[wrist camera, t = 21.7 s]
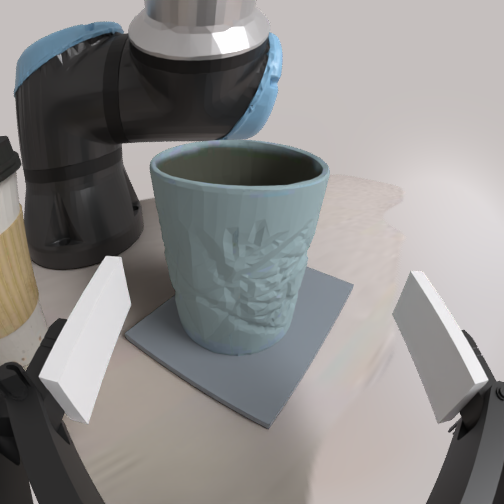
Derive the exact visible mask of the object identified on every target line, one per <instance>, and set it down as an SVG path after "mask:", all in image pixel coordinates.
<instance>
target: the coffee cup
mask: <svg viewBox="0 0 504 504" xmlns="http://www.w3.org/2000/svg"><path fill="white" fill-rule="evenodd" d="M20 166H21V161H20V158H19V155H18V153H17V152H15V151H13V149H12V146H11V144H10V141H9V139H8V137H7V136H0V366H1V365H3V364H4V363H7V362H17V363H18V364H20V365H21V366H22V367H23V366H26V365H28V364H29V363H30V362H31V360H32V358H33V356H34V354H35V352H36V351H37V349H38V347H40V343H41V341H42V339H44V336H45V334H46V332H47V330H48V327H47V324H46V321H45V318H44V315H43V312H42V309H41V305H40V302H39V298H38V295H39V293H38V289H37V285H36V281H35V277H34V272H33V268H32V264H31V259H30V254H29V249H28V244H27V238H26V232H25V226H24V219H23V212H22V206H21V204H20V203H19V197H18V189H17V175H16V171H17V170H18V169H19V168H20Z"/></svg>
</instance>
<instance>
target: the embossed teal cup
mask: <svg viewBox="0 0 504 504" xmlns="http://www.w3.org/2000/svg"><path fill="white" fill-rule="evenodd" d="M150 173H151V179H152V185H153V190H154V196H155V202H156V208H157V211H158V215H159V222H160V225H161V231H162V239H163V242H164V246H165V257H166V262H167V265H168V269H169V276H170V280H171V282H172V286H173V288H174V289H175V290H176V291H175V301H176V305H177V310H178V314H179V318H180V321H181V324H182V326H183V328H184V330H185V332H186V333H187V334H188V336H189V337H190V338H191V339H192V340H193V341H194V342H195V343H197V344H199V345H200V346H202V347H203V348H205V349H207V350H210V351H212V352H214V353H219V354H225V355H230V356H231V355H236V356H244V355H246V354H250V355H252V354H253V353H259V352H260V351H263V350H265V349H267V348H269V347H271V346H273V345H274V344H275V343H277V342H279V341H280V339H282V338H283V336H284V335H285V334H286V332H287V331H288V329H289V327H290V324H291V321H292V317H293V313H294V310H295V305H296V302H297V298H298V290H299V288H300V287H301V282H302V279H303V276H304V273H305V269H306V266H307V261H308V257H307V250H308V248H309V247H310V243H311V241H312V239H313V236H314V234H315V230H316V225H317V222H318V218H319V213H320V209H321V206H322V202H323V198H324V194H325V191H326V187H327V183H328V179H329V174H330V170H329V167H328V165H327V164H326V163H325V162H324V161H323V160H322V159H321V158H319V157H317V156H315V155H313V154H311V153H309V152H307V151H304V150H301V149H298V148H294V147H290V146H286V145H281V144H275V143H269V142H262V141H252V140H213V141H202V142H195V143H189V144H184V145H180V146H176V147H173V148H170V149H168V150H165V151H163V152H161V153H159V154H157V155H156V156H155V157H154V158H153V159H152V160H151V163H150Z"/></svg>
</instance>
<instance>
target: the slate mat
mask: <svg viewBox="0 0 504 504" xmlns="http://www.w3.org/2000/svg"><path fill="white" fill-rule="evenodd" d="M352 289H353V284H351V283H348V282H346V281H343V280H340V279H338V278H335V277H332V276H330V275H327V274H325V273H322V272H319V271H317V270H314V269H311V268H309V267H306V269H305V273H304V276H303V279H302V282H301V287H300V288H299V290H298V298H297V302H296V305H295V310H294V313H293V317H292V321H291V324H290V327H289V329H288V331H287V332H286V334H285V335H284V336H283V338H282V339H280V341H279V342H277V343H275V344H274V345H273V346H271V347H269V348H267V349H265V350H263V351H260V352H259V353H253V354H252V355H250V354H246V355H244V356H236V355H231V356H230V355H225V354H219V353H214V352H212V351H210V350H207V349H205V348H203V347H202V346H200V345H199V344H197V343H195V342H194V341H193V340H192V339H191V338H190V337H189V336H188V334H187V333H186V332H185V330H184V328H183V326H182V324H181V321H180V318H179V314H178V310H177V305H176V301H175V295H174V296H173V297H171V298H170V299H169V300H167V301H166V302H165V303H164V304H162V305H161V306H160V307H158V308H157V309H156V310H154V311H153V312H152V313H150V314H149V315H148V316H147V317H145V318H144V319H143V320H141V321H140V322H139V323H137V324H136V325H135V326H133V327H132V328H131V329H130V330H128V331H127V332H126V333H125V336H126V339H127V340H129V341H130V342H131V343H133V344H134V345H135V346H137V347H138V348H139V349H141V350H142V351H143V352H145V353H146V354H147V355H149V356H150V357H152V358H153V359H154V360H156V361H157V362H159V363H160V364H162V365H163V366H164V367H166V368H167V369H169V370H170V371H172V372H173V373H175V374H176V375H178V376H179V377H181V378H182V379H184V380H185V381H187V382H188V383H190V384H191V385H193V386H194V387H196V388H198V389H199V390H201V391H202V392H204V393H206V394H207V395H209V396H210V397H212V398H214V399H215V400H217V401H219V402H220V403H222V404H224V405H226V406H227V407H229V408H231V409H232V410H234V411H236V412H238V413H240V414H241V415H243V416H245V417H247V418H249V419H250V420H252V421H254V422H256V423H258V424H260V425H262V426H264V427H266V428H268V429H269V428H270V426H271V425H272V423H273V422H274V420H275V419H276V417H277V416H278V415H279V413H280V412H281V410H282V409H283V407H284V406H285V404H286V403H287V401H288V399H289V398H290V396H291V395H292V393H293V392H294V390H295V389H296V387H297V385H298V384H299V382H300V381H301V379H302V377H303V376H304V374H305V373H306V371H307V369H308V368H309V366H310V364H311V363H312V361H313V359H314V358H315V356H316V354H317V353H318V351H319V349H320V348H321V346H322V344H323V342H324V341H325V339H326V337H327V335H328V334H329V332H330V330H331V328H332V326H333V325H334V323H335V321H336V319H337V317H338V316H339V314H340V312H341V310H342V308H343V306H344V304H345V302H346V301H347V299H348V297H349V295H350V293H351V291H352Z"/></svg>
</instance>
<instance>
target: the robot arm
mask: <svg viewBox="0 0 504 504" xmlns="http://www.w3.org/2000/svg"><path fill="white" fill-rule="evenodd" d="M144 1H145V8H144V9H143V10H142V11H141V12H140V13H139V14H138V15H137V16H136V17H135V18H134V19H133V20H132V22H131V23H130V25H129V29H128V34H124V31H123V30H122V27H121V26H120V25H119V24H118V23H115V22H94V23H91V24H88V25H77V26H73V27H69V28H66V29H63V30H60V31H57V32H55V33H52V34H50V35H48V36H45V37H44V38H41V39H39V40H38V41H36V42H35V43H33V44H32V45H30V46H29V47H28V48H27V49H26V50H25V51H24V52H23V53H22V55H21V56H20V58H19V60H18V62H17V67H16V81H15V89H14V97H15V99H16V114H17V126H18V136H19V144H20V151H21V158H22V165H23V170H24V176H25V182H26V197H25V213H24V226H25V232H26V238H27V244H28V249H29V254H30V257H31V259H32V260H33V261H34V262H35V263H37V264H39V265H41V266H44V267H47V268H53V269H72V268H79V267H84V266H89V265H92V264H96V263H99V262H102V263H101V264H100V266H99V268H98V269H97V271H96V272H95V274H94V276H93V277H92V279H91V280H90V282H89V284H88V285H87V287H86V289H85V290H84V292H83V294H82V295H81V297H80V299H79V300H78V302H77V304H76V306H75V307H74V309H73V311H72V313H71V314H70V316H69V318H68V320H67V319H61V318H59V319H58V320H56V321H55V322H54V323H53V324H52V325H51V326H50V327H49V329H48V330H47V332H46V334H45V336H44V339H42V341H41V343H40V347H38V349H37V351H36V352H35V354H34V356H33V358H32V360H31V362H30V364H29V366H28V368H27V370H26V372H25V370H24V369H23V367H22V366H21V365H20V364H18V363H17V362H7V363H4V364H3V365H1V366H0V504H33V500H32V494H31V489H30V484H31V486H32V489H33V491H34V493H35V496H36V498H37V501H38V503H39V504H105V503H104V501H103V499H102V498H101V496H100V494H99V492H98V491H97V489H96V487H95V485H94V484H93V482H92V480H91V478H90V476H89V474H88V473H87V471H86V469H85V467H84V465H83V463H82V461H81V459H80V457H79V455H78V453H77V450H76V448H75V446H74V444H73V442H72V440H71V437H70V435H69V433H68V430H67V428H66V426H65V423H64V422H63V420H62V418H63V415H64V412H65V413H66V415H67V416H68V417H69V418H70V419H71V420H74V421H77V422H81V423H85V424H88V423H89V420H90V417H91V414H92V410H93V407H94V404H95V401H96V398H97V395H98V392H99V389H100V386H101V383H102V380H103V377H104V374H105V372H106V369H107V366H108V363H109V360H110V358H111V355H112V352H113V350H114V347H115V344H116V342H117V339H118V336H119V334H120V331H121V329H122V326H123V324H124V321H125V319H126V316H127V314H128V311H129V309H130V306H131V301H130V297H129V292H128V288H127V283H126V278H125V273H124V268H123V263H122V258H121V257H115V255H117V254H119V253H121V252H122V251H124V250H125V249H127V248H128V247H130V246H131V245H132V244H133V243H134V242H135V241H136V240H137V239H138V238H139V236H140V235H141V233H142V231H143V216H142V208H141V205H140V202H139V200H138V198H137V196H136V193H135V191H134V189H133V187H132V184H131V182H130V180H129V177H128V175H127V173H126V170H125V168H124V165H123V160H122V143H135V142H162V141H213V140H241V139H248V138H250V137H253V136H254V135H256V134H257V133H258V132H259V131H260V130H261V129H262V128H263V126H264V125H265V123H266V122H267V119H268V117H269V116H270V114H271V111H272V109H273V106H274V103H275V100H276V97H277V93H278V87H277V83H278V81H279V79H280V76H281V70H282V48H281V44H280V41H279V39H278V37H277V36H276V35H274V34H272V33H270V23H269V20H268V19H267V17H266V16H265V15H264V14H263V13H262V12H261V11H260V10H259V9H258V8H257V7H256V1H257V0H144ZM392 315H393V317H394V319H395V321H396V323H397V325H398V327H399V330H400V331H401V334H402V336H403V338H404V340H405V343H406V345H407V347H408V350H409V352H410V354H411V356H412V359H413V361H414V363H415V366H416V368H417V371H418V373H419V376H420V378H421V381H422V383H423V385H424V388H425V391H426V393H427V396H428V398H429V401H430V403H431V406H432V409H433V411H434V414H435V417H436V420H437V423H442V422H446V421H450V420H452V419H453V418H454V417H455V416H456V415H457V414H458V413H459V412H460V415H461V418H460V419H459V420H458V421H457V422H456V423H455V424H454V425H453V426H452V427H451V428H450V429H449V431H448V432H451V431H452V430H453V429H454V428H456V429H455V432H454V433H453V434H454V436H453V438H452V441H451V444H450V447H449V450H448V453H447V455H446V458H445V461H444V463H443V466H442V469H441V471H440V473H439V476H438V478H437V481H436V483H435V485H434V488H433V490H432V492H431V494H430V496H429V499H428V501H427V503H426V504H504V382H501V381H498V382H497V381H496V380H495V378H494V376H493V374H492V372H491V370H490V369H489V367H488V365H487V363H486V361H485V359H484V358H483V356H481V353H480V351H479V349H478V348H477V345H476V343H475V342H474V340H473V338H472V337H471V336H470V335H469V334H468V333H467V332H466V331H465V330H461V329H460V327H459V326H458V324H457V322H456V321H455V319H454V318H453V316H452V315H451V313H450V311H449V310H448V308H447V307H446V305H445V303H444V302H443V300H442V299H441V297H440V296H439V294H438V293H437V291H436V290H435V288H434V287H433V285H432V284H431V282H430V281H429V279H428V278H427V276H426V275H425V273H424V272H423V271H410V274H409V276H408V279H407V281H406V284H405V286H404V289H403V291H402V293H401V296H400V298H399V300H398V303H397V305H396V307H395V309H394V312H393V314H392ZM29 481H30V484H29Z"/></svg>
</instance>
